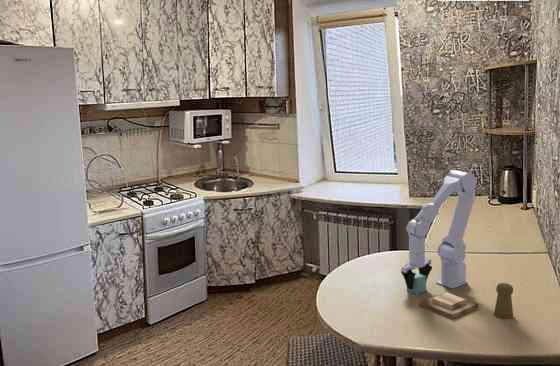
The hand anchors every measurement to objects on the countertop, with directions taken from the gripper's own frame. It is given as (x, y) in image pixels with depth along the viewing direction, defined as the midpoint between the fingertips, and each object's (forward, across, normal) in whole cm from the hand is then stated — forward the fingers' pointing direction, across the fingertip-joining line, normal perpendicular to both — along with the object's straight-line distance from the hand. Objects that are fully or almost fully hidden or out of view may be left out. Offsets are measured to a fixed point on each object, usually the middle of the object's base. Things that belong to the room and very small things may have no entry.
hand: (416, 286), depth 204 cm
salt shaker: (+2, -5, +33) cm, 33 cm away
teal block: (+2, 0, 0) cm, 2 cm away
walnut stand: (+2, +3, +17) cm, 17 cm away
